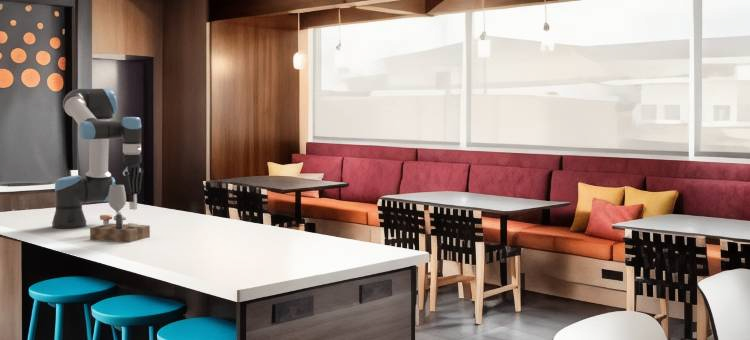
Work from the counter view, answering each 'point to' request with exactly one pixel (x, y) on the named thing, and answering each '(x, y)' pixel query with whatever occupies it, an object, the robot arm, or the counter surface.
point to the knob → (133, 225)
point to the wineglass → (117, 197)
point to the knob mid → (122, 219)
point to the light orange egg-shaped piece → (105, 219)
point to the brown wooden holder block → (119, 233)
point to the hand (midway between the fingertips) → (133, 209)
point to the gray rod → (119, 220)
